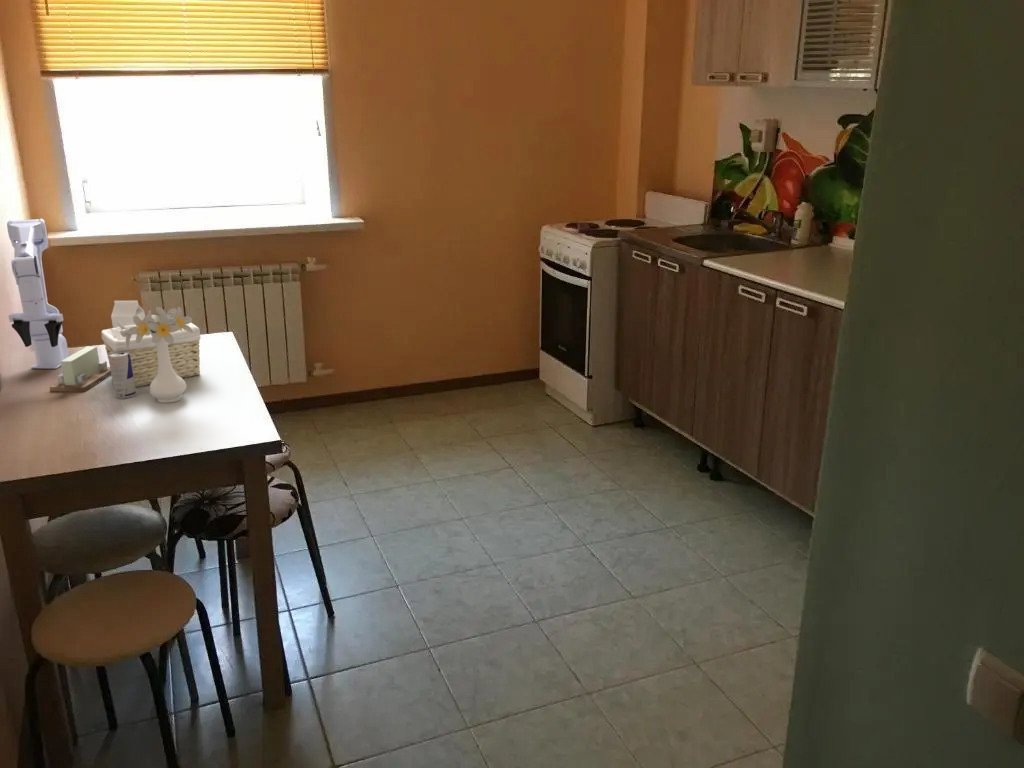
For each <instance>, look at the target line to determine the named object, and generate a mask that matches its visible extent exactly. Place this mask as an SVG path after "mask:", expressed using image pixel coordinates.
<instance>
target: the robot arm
mask: <svg viewBox="0 0 1024 768" xmlns="http://www.w3.org/2000/svg"><path fill="white" fill-rule="evenodd" d="M6 226H7V233H8V237H9V240H10V243H11V246H12V247H13V249H14V250H13V251H14V254H13V255H14V256H13V257H14V259H11V261H10V262H11V269H12V273H13V277H14V279H15V283H16V285H17V289H18V293H19V297H20V304H21V308H22V312H21V313H20V312H17V313H11V314H8V319H9V323H12V324H11V328H12V329H13V330H14V331H15V332H16V334H18V336H19V337H20V339H21V341H22V343H23V345H24V347H26V348H29V347H30V346H31V345H33V350H34V351H33V352H34V357H35V361H36V363H35V364H34V365H31V366H30V369H54V370H55V369H58V368H60V367H61V361H62V360H64V359H66V358H67V357H69V356H70V353H69V348H68V342H67V339H66V338H65V336H63V330H64V329H63V321H64V315H63V313H60V311H59V309H58V308H57V307H56V306H54V305H51V304H49V303H48V295H47V290H46V282H45V281H46V280H45V274H44V268H43V262H42V258H43V257H42V256H43V252H44V251H45V250H46V249H48V248H49V246H48V245H49V240H48V239H49V238H48V232H47V225H46V222H45V220H44V219H43V218H38V219H23V220H21V219H20V220H10V219H9V220H8V221H7V223H6Z"/></svg>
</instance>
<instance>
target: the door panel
mask: <svg viewBox="0 0 1024 768" xmlns="http://www.w3.org/2000/svg"><path fill="white" fill-rule="evenodd" d="M98 363H100V359H99V352H98V347H97V346H85V347H84V348H82V349H80V350H78V351H76V352H74V353H73V354H71V355H69V357H67V358H66V359H64V360H62V361H61V366H60V367H61V371H62V374H63V377H64V382H65V385H77V384H78V378H77V376H79V375H81V374H86V377H87V378H88V377H89V376H91V375H93V374H94V373H96V372H97V371H99V365H98Z"/></svg>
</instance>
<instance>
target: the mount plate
mask: <svg viewBox="0 0 1024 768" xmlns="http://www.w3.org/2000/svg"><path fill="white" fill-rule="evenodd" d="M107 368H108V369H107V370H106V371H104V372H100V371H97V372H96V373H94V374H93V375H91V376H89V377H88V378H87V383H85V384H84V385H79V383H78V384H77V385H65V384H63V385H59V384H58V381H57V382H55V383H54V384H52V385H51V386H49V391H50V392H83V391H85V392H87V391H88V390H90V389H91V388H93V387H94V386H96V385H97V384H99V383H100V382H99V381H101V380H102V381H103V379H104V378H105V379H107V378H108V377H109V375H110V374H111V370H110V366H107ZM107 376H108V377H107ZM110 376H111V375H110ZM106 377H107V378H106ZM105 379H104V380H105ZM102 381H101V382H102ZM98 382H99V383H98ZM96 383H97V384H96ZM95 384H96V385H95ZM92 386H93V387H92ZM90 387H91V388H90ZM89 388H90V389H89ZM86 390H87V391H86Z"/></svg>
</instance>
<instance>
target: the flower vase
mask: <svg viewBox="0 0 1024 768" xmlns="http://www.w3.org/2000/svg"><path fill="white" fill-rule="evenodd" d="M155 310H156V313H157V314H158V315H156V314H152V310H151V309H149V310H148V311H147V315H145V317H144V319H143V320H142V321H141V319H140V318H139V317H138V316H136V315H135V316H134V317H133V321H134V323H135V325H136V326H138V327H132V328H130V329H127V328H126V327H124V326H123V325H122V324H120V323H119V322H118V321H117V323H118V325H119V326H120V327H121V329H122V330H120V333H121V335H122V336H123V337H126V345H127V348H128V346H129V341H130V338H131V335H134V334H136V335H137V336H136V343H139V342H140V341H141V340H142V338H143V336H144V335H150V333H151V335H152V342H153V343H155V345H156V350H157V359H158V371H157V375H156V377H155V378H154V379H153V381H152V382H151V384H149V392H150V395H152V396H153V397H154V398H156V399H157V402H159V403H161V404H169V403H174V402H178V401H180V400H181V399H182V397H183V394H185V391H186V390H187V383H186V381H185V380H184V379H183V378H181V377H180V376H178V375H177V374H176V373H175V371H174V369H173V368H172V365H171V361H170V356H169V350H168V343H169V344H172V343H173V342H174V340H173V337H172V335H171V334H170V333H173V332H176V331H178V330H180V331H182V330H183V329H185V330H186V331H188V332H190V333H193V331H192V329H191V328H190V327H189V326H188V325H186V324H189V323H192V322H193V318H192V317H191V316H189V315H187V316H184V312H183V309H182V308H181V307H180V306H178V307H177V308H176V307H173V308H170V309H169V310H168V311H167V313H166V310H165V309H163V308H162V307H160V306H156V309H155Z"/></svg>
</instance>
